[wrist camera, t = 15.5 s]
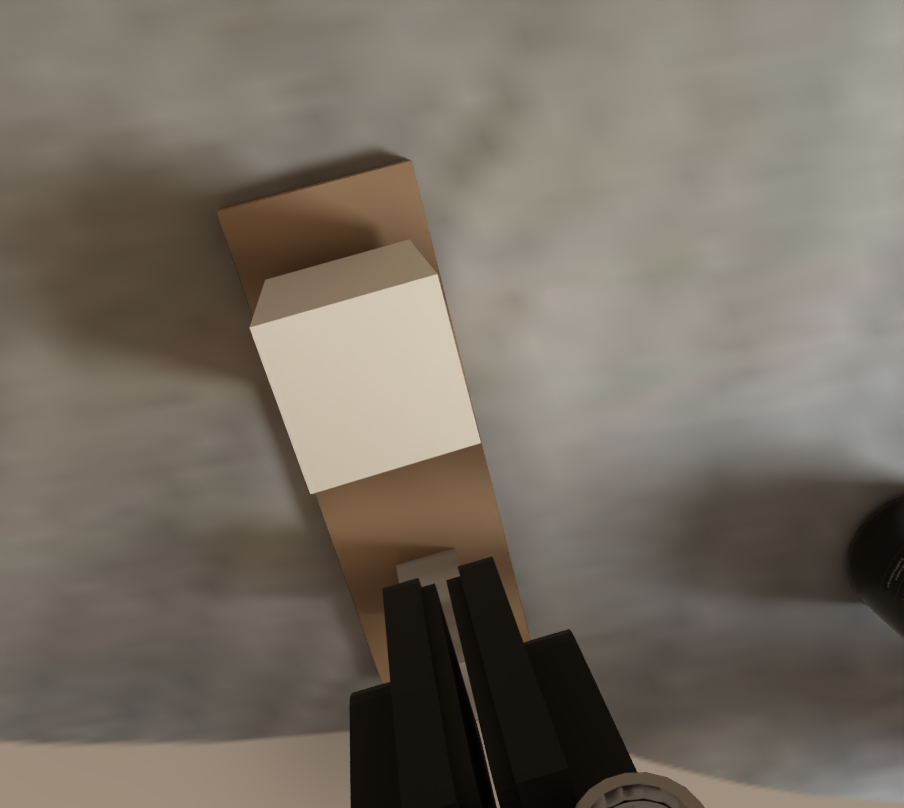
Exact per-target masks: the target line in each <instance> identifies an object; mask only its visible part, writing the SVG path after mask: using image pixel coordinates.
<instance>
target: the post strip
mask: <svg viewBox="0 0 904 808" xmlns="http://www.w3.org/2000/svg"><path fill="white" fill-rule="evenodd" d="M216 213H217V215H218V218H219V221H220V224H221V227H222V230H223V233H224V235H225V238H226V241H227V244H228V247H229V250H230V252H231V255H232V258H233V261H234V264H235V267H236V269H237V272H238V275H239V278H240V281H241V284H242V287H243V289H244V292H245V295H246V298H247V301H248V304H249V306H250V309H251V312H252V315H254V312H255V309H256V306H257V303H258V300H259V297H260V294H261V291H262V288H263V285H264V282H265V280H266V279H270V278H274V277H277V276H281V275H284V274H288V273H291V272H295V271H298V270H302V269H306V268H309V267H313V266H316V265H320V264H323V263H327V262H330V261H334V260H338V259H341V258H345V257H348V256H352V255H355V254H359V253H363V252H366V251H370V250H373V249H377V248H380V247H384V246H387V245H391V244H395V243H398V242H402V241H405V240H409V239H410V240H411V242H412V243H413V244H414V245H415V247H416V248H417V249H418V250H419V252H420V253H421V254H422V255H423V257H424V258H425V259H426V260H427V262H428V263H429V264H430V265H431V267H432V268H433V269H434V270H435V272H436V273H437V274H438V278H439V282H440V286H441V290H442V294H443V298H444V301H445V305H446V309H447V313H448V317H449V321H450V325H451V329H452V332H453V336H454V340H455V344H456V348H457V352H458V356H459V360H460V364H461V367H462V371H463V375H464V379H465V383H466V378H465V374H464V370H463V366H462V362H461V358H460V354H459V350H458V346H457V342H456V338H455V334H454V330H453V326H452V322H451V318H450V314H449V310H448V306H447V302H446V298H445V293H444V289H443V285H442V281H441V277H440V273H439V269H438V265H437V261H436V257H435V253H434V249H433V245H432V241H431V237H430V233H429V229H428V225H427V221H426V217H425V213H424V209H423V204H422V200H421V196H420V192H419V188H418V184H417V180H416V176H415V172H414V168H413V164H412V161H411V160H409V159H408V160H404V161H400V162H396V163H393V164H389V165H385V166H381V167H377V168H374V169H370V170H366V171H362V172H358V173H355V174H351V175H347V176H343V177H340V178H336V179H332V180H328V181H324V182H321V183H317V184H313V185H309V186H305V187H302V188H298V189H294V190H290V191H286V192H283V193H279V194H275V195H271V196H267V197H264V198H260V199H256V200H252V201H249V202H245V203H241V204H237V205H233V206H230V207H226V208H222V209H219V210H218V211H217V212H216ZM466 387H467V383H466ZM467 391H468V387H467ZM468 395H469V391H468ZM469 399H470V395H469ZM470 402H471V399H470ZM471 406H472V403H471ZM472 410H473V407H472ZM473 414H474V411H473ZM474 418H475V415H474ZM475 422H476V419H475ZM476 426H477V423H476ZM477 430H478V427H477ZM478 433H479V431H478ZM479 437H480V435H479ZM480 441H481V439H480ZM315 494H316V497H317V500H318V503H319V505H320V508H321V511H322V514H323V517H324V520H325V523H326V525H327V528H328V531H329V534H330V537H331V540H332V542H333V545H334V548H335V551H336V554H337V557H338V560H339V562H340V565H341V568H342V571H343V574H344V577H345V579H346V582H347V585H348V588H349V591H350V594H351V596H352V599H353V602H354V605H355V608H356V611H357V614H358V616H359V619H360V622H361V625H362V628H363V631H364V633H365V636H366V639H367V642H368V645H369V648H370V650H371V653H372V656H373V659H374V662H375V665H376V668H377V670H378V673H379V676H380V679H381V682H382V684H384V683H388V682H390V673H389V661H388V650H387V638H386V627H385V615H384V604H383V591H382V589H383V588H384V587H387V586H391V585H394V584H398V583H401V582H405V581H408V580H412V579H415V578H419V580H420V583H421V586H422V587H423V586H427V585H430V584H434V583H435V585H436V588H437V591H438V595H439V598H440V601H441V605H442V608H443V612H444V615H445V618H446V622H447V625H448V628H449V632H450V635H451V639H452V642H453V645H454V649H455V652H456V655H457V659H458V662H459V666H460V669H461V672H462V676H463V679H464V683H465V686H466V689H467V693H468V696H469V699H470V703H471V706H472V710H473V713H474V716H475V720H478V715H477V711H476V706H475V702H474V698H473V694H472V689H471V685H470V681H469V676H468V672H467V668H466V664H465V659H464V655H463V651H462V647H461V642H460V638H459V634H458V629H457V625H456V621H455V617H454V612H453V608H452V604H451V599H450V595H449V591H448V587H447V582H446V580H448V579H451V578H455V577H458V576H460V574H459V570H458V567H457V566H460V565H464V564H467V563H471V562H474V561H478V560H481V559H484V558H488V557H491V556H492V557H493V559H494V562H495V564H496V567H497V570H498V573H499V576H500V578H501V581H502V584H503V587H504V590H505V592H506V595H507V598H508V601H509V604H510V606H511V609H512V612H513V615H514V617H515V620H516V623H517V626H518V629H519V631H520V634H521V637H522V640H523V643H524V642H527V641H530V637H529V633H528V629H527V625H526V621H525V617H524V613H523V609H522V605H521V601H520V597H519V593H518V589H517V585H516V581H515V577H514V573H513V569H512V565H511V561H510V557H509V552H508V548H507V544H506V540H505V536H504V532H503V528H502V524H501V520H500V516H499V512H498V508H497V504H496V500H495V496H494V492H493V488H492V484H491V480H490V476H489V472H488V468H487V463H486V459H485V455H484V451H483V447H482V443H479V444H476V445H473V446H469V447H466V448H463V449H459V450H456V451H453V452H449V453H446V454H443V455H439V456H436V457H433V458H429V459H426V460H423V461H420V462H416V463H413V464H410V465H406V466H403V467H400V468H396V469H393V470H390V471H386V472H383V473H380V474H376V475H373V476H370V477H366V478H363V479H360V480H357V481H353V482H350V483H347V484H343V485H340V486H337V487H333V488H330V489H327V490H323V491H320V492H317V493H315Z"/></svg>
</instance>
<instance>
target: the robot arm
mask: <svg viewBox="0 0 904 808" xmlns="http://www.w3.org/2000/svg"><path fill="white" fill-rule="evenodd" d="M457 567H458V570H459V574H460V576H458V577H455V578H451V579H448V580H446V582H447V587H448V591H449V595H450V599H451V604H452V608H453V612H454V617H455V621H456V625H457V629H458V634H459V638H460V642H461V647H462V651H463V655H464V659H465V664H466V668H467V672H468V676H469V681H470V685H471V689H472V694H473V698H474V702H475V706H476V711H477V715H478V719H479V724H480V728H481V732H482V736H483V740H484V745H485V749H486V754H487V758H488V761H489V766H490V770H491V774H492V778H493V782H494V786H495V790H496V793H497V797H498V801H499V804H500V808H704V806H703V805H702V804H701V802H700V801H699V800H698V799H697V798H696V797H695V796H693V794H692V793H690V791H689V790H687V788H686V787H684V786H682V785H680V784H678V783H676V782H675V781H673V780H671V779H669V778H667V777H663V776H659V775H655V774H651V773H647V772H643V773H637V771H636V768H635V766H634V764H633V762H632V760H631V758H630V756H629V753H628V751H627V749H626V747H625V745H624V743H623V740H622V738H621V736H620V734H619V732H618V730H617V728H616V725H615V723H614V721H613V719H612V717H611V715H610V713H609V710H608V708H607V706H606V704H605V702H604V700H603V697H602V695H601V693H600V691H599V689H598V687H597V685H596V682H595V680H594V678H593V676H592V674H591V672H590V669H589V667H588V665H587V663H586V661H585V659H584V657H583V654H582V652H581V650H580V648H579V646H578V644H577V642H576V639H575V637H574V636H573V634H572V632H571V631H570V630H569V629H568V630H564V631H561V632H558V633H554V634H551V635H547V636H544V637H541V638H537V639H534V640H530V641H527V642H524V643H523V640H522V637H521V634H520V631H519V629H518V626H517V623H516V620H515V617H514V615H513V612H512V609H511V606H510V604H509V601H508V598H507V595H506V592H505V590H504V587H503V584H502V581H501V578H500V576H499V573H498V570H497V567H496V564H495V562H494V559H493V557H492V556H491V557H488V558H484V559H481V560H478V561H474V562H471V563H467V564H464V565H460V566H457ZM382 591H383V604H384V615H385V627H386V638H387V650H388V661H389V673H390V682H388V683H384V684H381V685H378V686H374V687H371V688H367V689H364V690H361V691H357V692H354V693H352V694H351V696H350V783H351V808H497V807H496V802H495V798H494V794H493V790H492V785H491V781H490V777H489V772H488V768H487V763H486V760H485V755H484V750H483V746H482V742H481V738H480V734H479V731H478V727H477V723H476V720H475V716H474V713H473V710H472V706H471V703H470V699H469V696H468V693H467V689H466V686H465V683H464V679H463V676H462V672H461V669H460V666H459V662H458V659H457V655H456V652H455V649H454V645H453V642H452V639H451V635H450V632H449V628H448V625H447V622H446V618H445V615H444V612H443V608H442V605H441V601H440V598H439V595H438V591H437V588H436V585H435V583H434V584H430V585H427V586H423V587H422V586H421V583H420V580H419V578H415V579H412V580H408V581H405V582H401V583H398V584H394V585H391V586H387V587H384V588H383V589H382Z"/></svg>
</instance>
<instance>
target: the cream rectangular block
mask: <svg viewBox="0 0 904 808" xmlns="http://www.w3.org/2000/svg"><path fill="white" fill-rule="evenodd" d="M249 328H250V330H251V333H252V336H253V339H254V341H255V344H256V347H257V350H258V352H259V355H260V358H261V361H262V363H263V366H264V369H265V372H266V374H267V377H268V380H269V382H270V385H271V388H272V391H273V393H274V396H275V399H276V402H277V404H278V407H279V410H280V413H281V415H282V418H283V421H284V423H285V426H286V429H287V432H288V434H289V437H290V440H291V443H292V445H293V448H294V451H295V454H296V456H297V459H298V462H299V465H300V467H301V470H302V473H303V475H304V478H305V481H306V484H307V486H308V489H309V492H310V494H313V493H317V492H320V491H323V490H327V489H330V488H333V487H337V486H340V485H343V484H347V483H350V482H353V481H357V480H360V479H363V478H366V477H370V476H373V475H376V474H380V473H383V472H386V471H390V470H393V469H396V468H400V467H403V466H406V465H410V464H413V463H416V462H420V461H423V460H426V459H429V458H433V457H436V456H439V455H443V454H446V453H449V452H453V451H456V450H459V449H463V448H466V447H469V446H473V445H476V444H479V443H481V441H480V437H479V433H478V430H477V426H476V422H475V418H474V414H473V410H472V406H471V402H470V399H469V395H468V391H467V387H466V383H465V379H464V375H463V371H462V367H461V364H460V360H459V356H458V352H457V348H456V344H455V340H454V336H453V332H452V329H451V325H450V321H449V317H448V313H447V309H446V305H445V301H444V298H443V294H442V290H441V286H440V282H439V278H438V274H437V273H436V272H435V270H434V269H433V268H432V267H431V265H430V264H429V263H428V262H427V260H426V259H425V258H424V257H423V255H422V254H421V253H420V252H419V250H418V249H417V248H416V247H415V245H414V244H413V243H412V242H411V240H410V239H409V240H405V241H402V242H398V243H395V244H391V245H387V246H384V247H380V248H377V249H373V250H370V251H366V252H363V253H359V254H355V255H352V256H348V257H345V258H341V259H338V260H334V261H330V262H327V263H323V264H320V265H316V266H313V267H309V268H306V269H302V270H298V271H295V272H291V273H288V274H284V275H281V276H277V277H274V278H270V279H266V280H265V282H264V285H263V288H262V291H261V294H260V297H259V300H258V303H257V306H256V309H255V312H254V315H253V318H252V321H251V324H250V327H249Z"/></svg>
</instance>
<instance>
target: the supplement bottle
mask: <svg viewBox="0 0 904 808" xmlns="http://www.w3.org/2000/svg"><path fill="white" fill-rule="evenodd" d="M848 574H849V579H850V582H851V585H852V587H853V589H854V591H855V592H856V594H857V595H858V596H859V598H860V599H861V600H862V601H863V602H864V603H865V604H866V605H867V606H869V607H870V608H871V609H872V610H873V611H874V612H875V613H876V614H877V615H878V616H879V617H880V618H881V619H882V620H884V621H885V622H886V623H887V624H888V625H889V626H890V627H891V628H892V629H893V630H895V631H896V632H897V633H898V634H899V635H900V636H901V637H902V638H903V639H904V496H903V497H901V498H898V499H896V500H894V501H892V502H890V503H889V504H887V505H885V506H884V507H882V508H881V509H880V510H878V511H877V512H876V513H875V514H874V515H873V516H871V517H870V518H869V520H868V521H867V522H866V523H865V524H864V525H863V527H862V528H861V529H860V531H859V532H858V534H857V536H856V538H855V540H854V542H853V544H852V547H851V550H850V553H849V559H848Z"/></svg>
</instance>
